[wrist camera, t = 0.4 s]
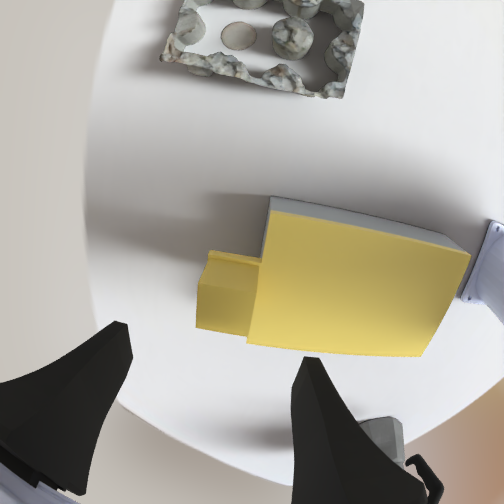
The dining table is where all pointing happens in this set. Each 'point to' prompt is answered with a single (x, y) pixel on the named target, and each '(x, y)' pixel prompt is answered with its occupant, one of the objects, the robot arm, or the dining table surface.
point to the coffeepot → (401, 452)
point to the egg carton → (284, 43)
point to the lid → (331, 289)
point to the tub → (355, 221)
